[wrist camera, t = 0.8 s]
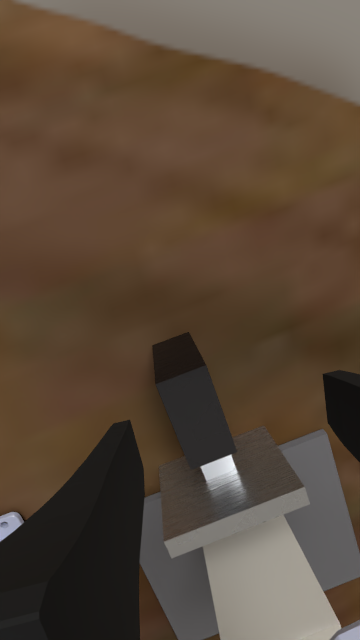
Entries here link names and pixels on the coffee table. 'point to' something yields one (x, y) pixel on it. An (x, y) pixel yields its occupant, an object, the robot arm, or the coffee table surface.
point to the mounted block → (214, 460)
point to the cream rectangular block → (267, 587)
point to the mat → (306, 524)
